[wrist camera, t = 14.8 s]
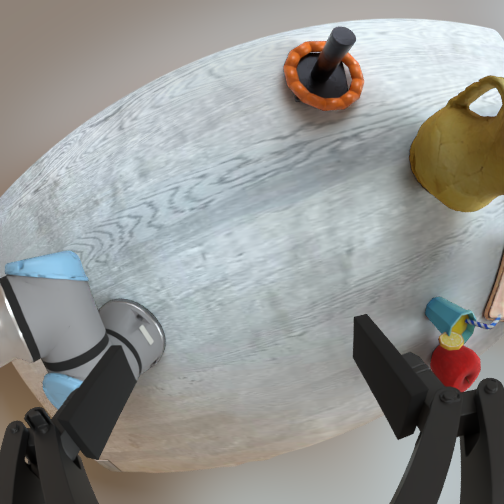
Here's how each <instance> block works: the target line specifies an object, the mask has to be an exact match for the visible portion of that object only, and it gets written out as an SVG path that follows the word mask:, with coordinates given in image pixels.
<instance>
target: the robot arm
mask: <svg viewBox="0 0 504 504" xmlns="http://www.w3.org/2000/svg"><path fill="white" fill-rule="evenodd" d="M5 274H7V275H6V276H5V277H3V278H0V367H2V366H3V365H5V364H7V363H9V362H11V361H13V360H14V359H16V358H18V359H22V360H25V361H27V362H29V363H33V362H35V361H37V360H38V359H40V358H41V360H42V361H43V363H44V365H45V367H46V369H47V371H48V374H46V375H45V376H44V380H43V390H44V392H45V394H46V396H47V398H48V399H49V401H50V402H51V403H52V404H53V405H54V406H55V407H56V408H57V409H58V411H57V412H56V414H55V415H54V416H53V418H52V419H50V417H49V416H48V414H47V413H46V411H45V410H44V409H43V408H41V407H35V408H33V409H30V410H29V411H28V412H27V413H26V415H25V418H24V419H25V421H26V422H27V423H28V425H29V426H30V428H26V427H25V425H24V424H23V423H22V422H21V421H14V422H11V423H10V424H9V425H8V426H7V428H6V431H5V435H4V439H3V442H2V446H1V450H0V504H99V503H98V501H97V499H96V497H95V494H94V492H93V490H92V487H91V485H90V482H89V480H88V477H87V474H86V472H85V469H84V466H83V463H82V460H81V458H80V456H79V455H78V453H79V451H80V450H81V452H82V453H83V454H84V455H85V456H86V457H88V458H92V459H96V460H99V457H100V455H101V453H102V451H103V449H104V447H105V445H106V443H107V440H108V438H109V436H110V434H111V432H112V430H113V428H114V426H115V424H116V422H117V420H118V418H119V416H120V414H121V412H122V410H123V408H124V406H125V404H126V402H127V400H128V398H129V396H130V394H131V392H132V390H133V388H134V386H135V384H136V382H137V380H138V378H139V376H140V375H141V374H142V373H144V372H145V371H147V370H148V369H149V368H151V367H153V366H154V365H155V364H156V363H157V362H158V361H159V360H160V358H161V356H162V354H163V352H164V349H165V335H164V332H163V329H162V327H161V325H160V323H159V322H158V320H157V319H156V317H155V316H154V315H153V314H152V313H151V312H150V311H149V310H148V309H146V308H145V307H144V306H142V305H140V304H139V303H137V302H134V301H131V300H127V299H114V300H111V301H109V302H107V303H106V304H105V305H103V306H102V307H101V308H100V309H99V311H98V309H97V307H96V304H95V301H94V298H93V295H92V292H91V289H90V286H89V283H88V281H89V280H88V277H86V275H85V272H84V270H83V267H82V264H81V261H80V259H79V257H78V255H77V254H76V253H74V252H72V251H62V252H57V253H52V254H48V255H43V256H38V257H34V258H29V259H25V260H20V261H16V262H11V263H7V264H6V265H5ZM353 359H354V360H355V362H356V364H357V366H358V368H359V369H360V371H361V373H362V375H363V376H364V378H365V380H366V382H367V384H368V385H369V387H370V389H371V391H372V393H373V394H374V396H375V398H376V400H377V402H378V404H379V405H380V407H381V409H382V411H383V413H384V415H385V417H386V418H387V420H388V422H389V424H390V426H391V428H392V430H393V432H394V434H395V435H396V437H397V439H398V440H399V439H402V438H404V437H406V436H409V435H411V434H413V433H414V431H415V428H416V426H417V427H418V428H419V430H420V431H421V432H420V434H419V436H418V439H417V441H416V444H415V448H414V451H413V453H412V456H411V458H410V461H409V463H408V466H407V468H406V470H405V473H404V475H403V477H402V479H401V482H400V484H399V486H398V488H397V490H396V492H395V494H394V496H393V498H392V500H391V502H390V504H437V502H438V499H439V497H440V494H441V491H442V488H443V485H444V482H445V479H446V476H447V472H448V469H449V466H450V462H451V459H452V455H453V451H454V446H455V442H456V437H459V436H460V450H461V494H460V504H504V387H503V385H502V383H501V382H500V381H498V380H497V379H494V378H487V379H483V380H482V381H481V382H480V383H479V385H478V387H477V389H476V390H471V391H466V392H461V391H460V390H458V389H457V388H455V387H451V386H448V387H445V386H444V384H443V383H442V382H441V381H440V380H439V379H438V378H437V376H436V375H435V374H434V373H433V372H432V371H431V369H429V367H428V366H427V365H426V364H425V363H424V362H423V360H422V359H421V358H420V357H419V356H417V355H415V354H413V353H411V352H409V353H406V354H403V355H401V354H400V353H399V352H398V350H397V349H396V348H395V347H394V346H393V344H392V343H391V342H390V341H389V340H388V338H387V337H386V336H385V335H384V334H383V332H382V331H381V330H380V329H379V328H378V327H377V325H376V324H375V323H374V322H373V321H372V320H371V318H370V317H369V316H368V315H367V314H364V315H360V316H355V317H354V339H353ZM25 457H26V458H27V459H28V464H27V463H26V462H25Z"/></svg>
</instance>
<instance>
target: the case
mask: <svg viewBox="0 0 504 504" xmlns="http://www.w3.org/2000/svg"><path fill="white" fill-rule="evenodd" d="M498 315H501V316H502V317H501V319H500V320H499V321H503V322H504V254H503V258H502V262H501V266H500V269H499V272H498V275H497V279H496V282H495V285H494V288H493V290H492V293H491V296H490V299H489V301H488V304H487V306H486V309H485V312H484V317H485V318H486V319H487V320H495V319H496V318H497V317H498Z"/></svg>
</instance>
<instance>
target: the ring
mask: <svg viewBox="0 0 504 504" xmlns="http://www.w3.org/2000/svg"><path fill="white" fill-rule="evenodd" d="M326 42H327V41H308V42H304V43H303V44H301V45H299V46H298V47H296V48H294V49H293V50H291V51H290V52H289V55H288V57H287V59H286V62H285V64H284V67H283V70H284V74H285V78H286V82H287V86H288V87H289V89H290V90H291V91H292V92H293V93H294V94H295V95H296V96H297V97H298V98H299V99H300V100H301V101H302V102H303V103H305V104H308V105H310V106H313V107H315V108H318V109H320V110H323V111H329V110H343V109H346V108H347V107H348V106H350V105H351V104H353V103H354V102H355V101H357V100H358V99H359V98H360V95H361V92H362V88H363V85H364V78H363V75H362V72H361V68H360V65H359V63H358V62H357V61H356V60H355V59H354V58H353V57H352V56H351V55H350V54H349V53H347V54H346V55H345V57H344V58H343V59H342V62H343V63H344V64H345V65H346V66H347V67H348V68H349V71H350V75H351V78H352V82H351V85H350V88H349V91H348V92H347V93H345V94H344V95H342V96H341V97H339V98H326V99H325V98H322V97H320V96H317V95H315V94H312V93H310V92H309V91H308V90H307V89H306V88H305V87H304V86H303V85H302V84H301V82H300V81H299V77H298V74H297V70H296V68H297V66H298V63H299V61H300V58H302V57H304V56H305V55H307V54H308V53H310V52H321V51H322V50H323V48H324V46H325V44H326Z"/></svg>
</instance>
